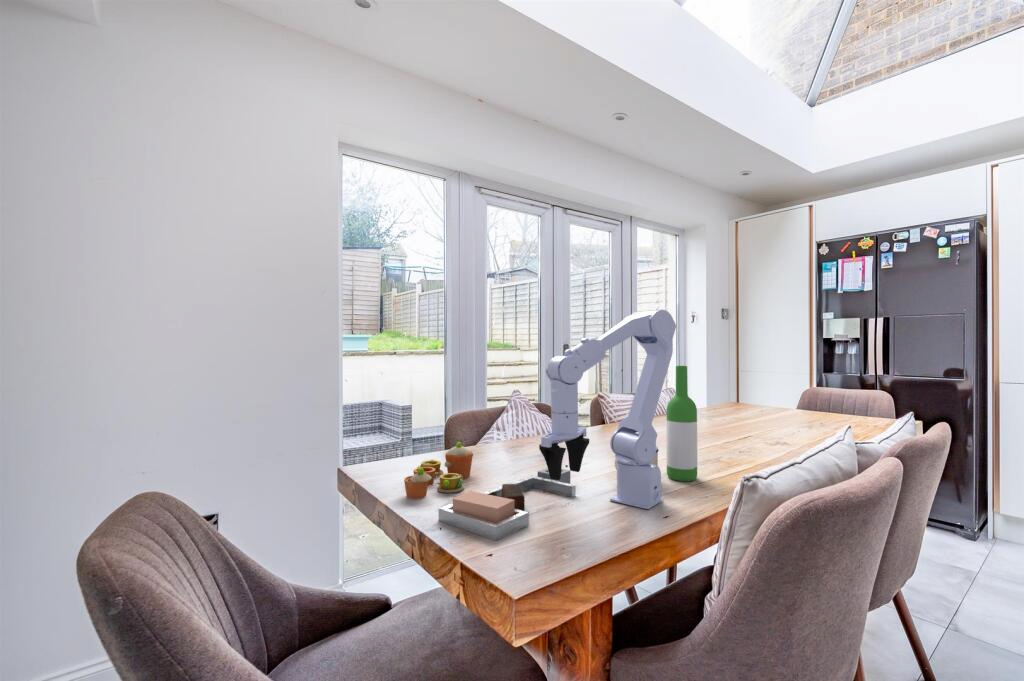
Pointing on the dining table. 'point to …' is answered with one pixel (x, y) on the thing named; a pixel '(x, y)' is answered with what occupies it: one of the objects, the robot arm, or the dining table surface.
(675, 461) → the wine bottle
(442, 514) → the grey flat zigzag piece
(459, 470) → the toy tea set
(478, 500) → the twin block
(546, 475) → the console
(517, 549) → the dining table surface
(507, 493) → the brick
